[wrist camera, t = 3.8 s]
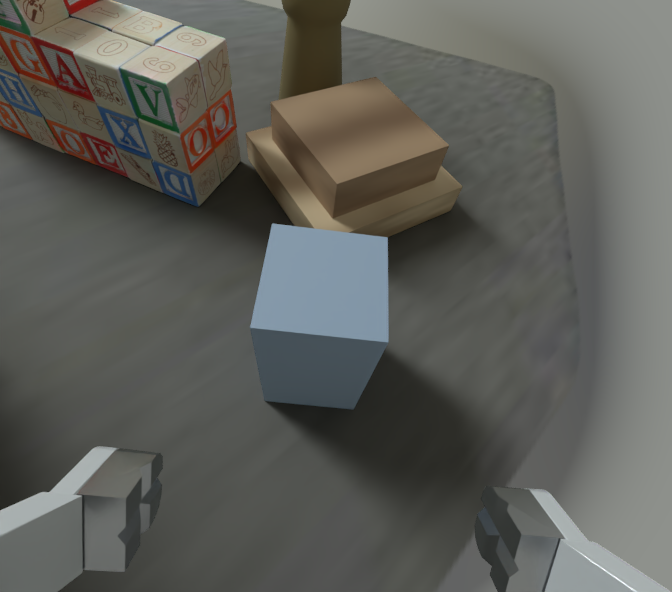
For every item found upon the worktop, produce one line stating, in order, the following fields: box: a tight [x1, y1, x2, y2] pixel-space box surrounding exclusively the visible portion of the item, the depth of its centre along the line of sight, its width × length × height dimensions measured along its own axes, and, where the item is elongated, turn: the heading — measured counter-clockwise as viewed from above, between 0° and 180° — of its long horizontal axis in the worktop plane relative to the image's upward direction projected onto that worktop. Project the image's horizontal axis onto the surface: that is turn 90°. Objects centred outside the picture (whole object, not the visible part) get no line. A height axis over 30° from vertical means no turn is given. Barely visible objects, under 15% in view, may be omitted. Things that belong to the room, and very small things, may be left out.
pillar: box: [250, 223, 388, 410], centre depth 19 cm, size 5×5×9 cm
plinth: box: [246, 77, 462, 237], centre depth 29 cm, size 12×12×6 cm
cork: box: [279, 0, 351, 100], centre depth 31 cm, size 6×6×11 cm
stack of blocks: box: [0, 0, 240, 207], centre depth 26 cm, size 21×6×12 cm, turn 66°
